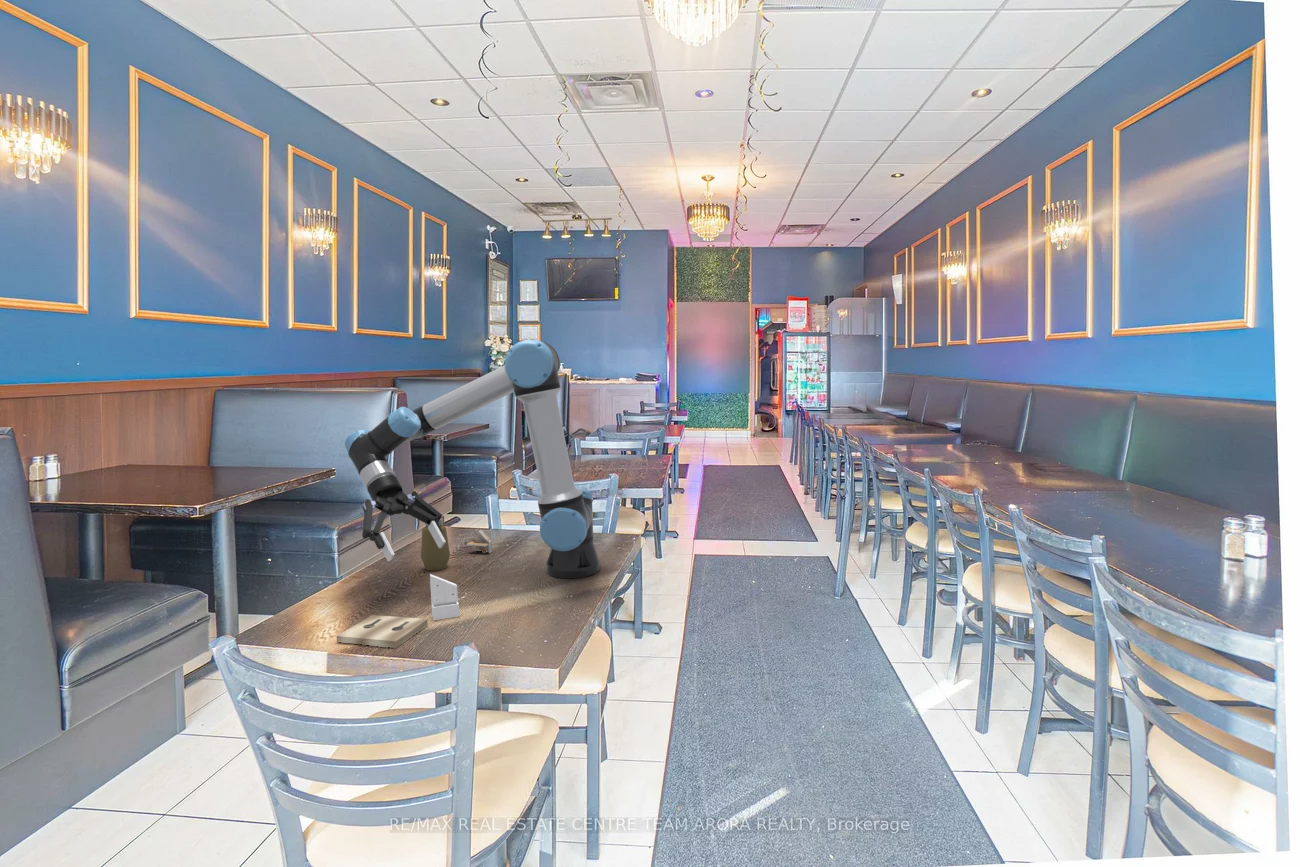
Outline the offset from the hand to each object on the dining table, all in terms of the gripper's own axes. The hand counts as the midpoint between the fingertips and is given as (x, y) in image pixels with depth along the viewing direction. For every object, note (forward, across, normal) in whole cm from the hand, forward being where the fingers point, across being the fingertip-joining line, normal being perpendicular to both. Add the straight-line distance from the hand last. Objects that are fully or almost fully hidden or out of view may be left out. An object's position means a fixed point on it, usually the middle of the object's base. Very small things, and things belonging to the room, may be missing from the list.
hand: (417, 551), depth 158 cm
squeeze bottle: (-7, -20, -27) cm, 35 cm away
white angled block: (+17, 0, -3) cm, 17 cm away
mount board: (+15, +14, -4) cm, 21 cm away
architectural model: (-8, -38, -29) cm, 49 cm away
